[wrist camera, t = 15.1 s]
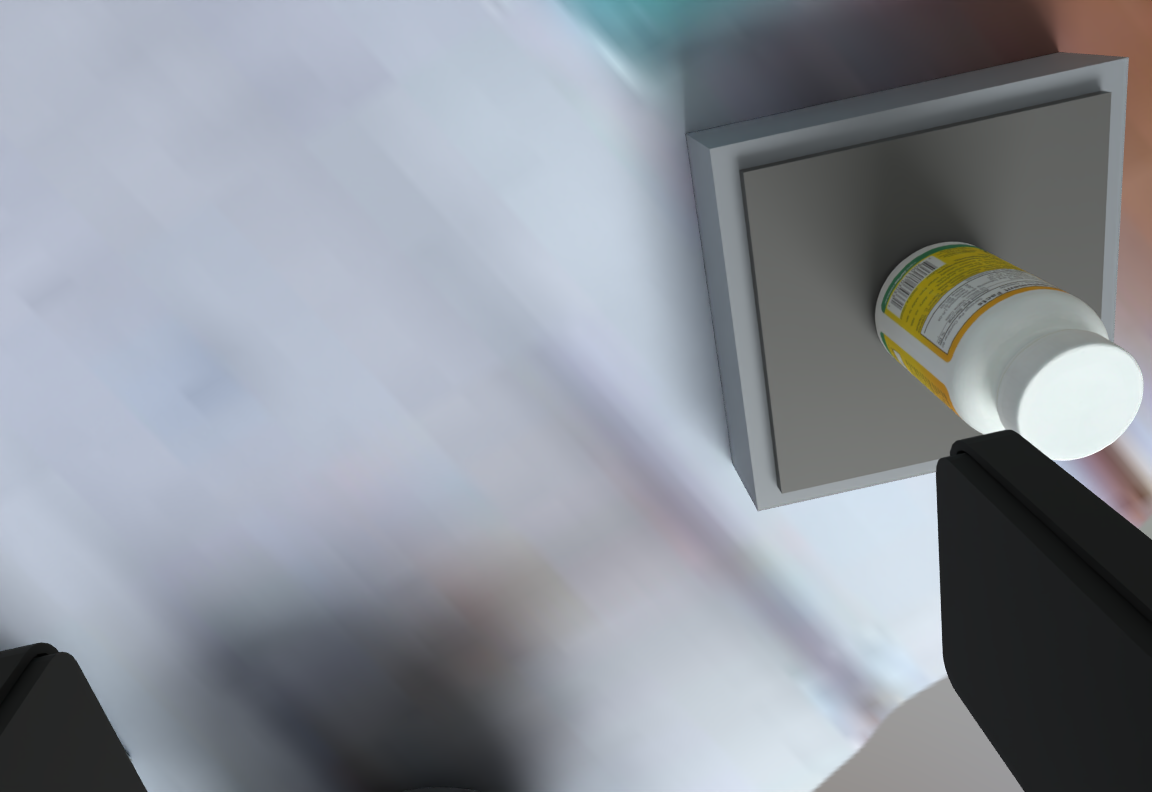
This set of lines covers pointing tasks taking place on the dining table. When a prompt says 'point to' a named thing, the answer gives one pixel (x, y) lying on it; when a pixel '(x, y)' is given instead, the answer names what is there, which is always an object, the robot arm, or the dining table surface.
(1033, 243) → the plinth
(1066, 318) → the supplement bottle
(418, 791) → the coal bowl
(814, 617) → the dining table surface
